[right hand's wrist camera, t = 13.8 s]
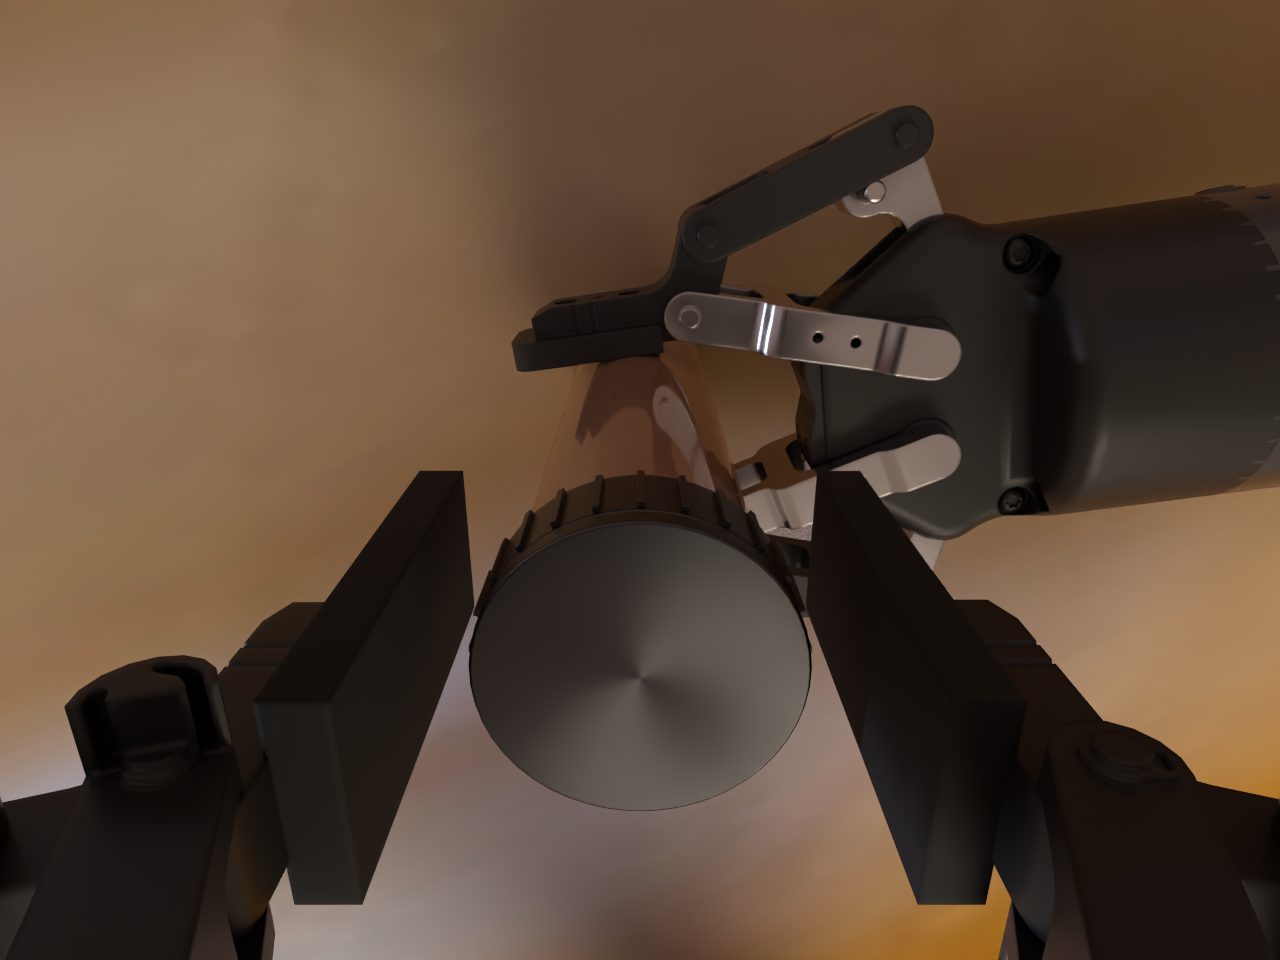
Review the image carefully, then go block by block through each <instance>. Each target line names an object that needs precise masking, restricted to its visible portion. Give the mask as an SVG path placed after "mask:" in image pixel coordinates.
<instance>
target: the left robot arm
mask: <svg viewBox="0 0 1280 960" xmlns="http://www.w3.org/2000/svg"><path fill="white" fill-rule="evenodd" d="M933 135H934V128H933V123H932V120H931V118H930V117H929V115H928V114H927V113H926V112H925V111H924V110H923V109H921V108H919V107H916V106H911V105H909V106H902V107H898V108H894V109H889V110H885V111H881V112H876V113H872V114H869V115H867V116H865V117H863V118H861V119H859V120H857V121H855V122H854V123H852V124H850V125H848V126H846V127H844V128H842V129H840V130H838V131H836V132H834V133H832V134H830V135H828V136H826V137H824V138H822V139H821V140H819V141H817V142H815V143H813V144H811V145H809V146H807V147H805V148H803V149H801V150H799V151H797V152H795V153H793V154H791V155H790V156H788V157H786V158H784V159H782V160H780V161H778V162H776V163H774V164H772V165H770V166H768V167H766V168H764V169H762V170H760V171H758V172H757V173H755V174H753V175H751V176H749V177H747V178H745V179H743V180H741V181H739V182H737V183H735V184H733V185H731V186H729V187H727V188H725V189H724V190H722V191H720V192H718V193H716V194H714V195H712V196H710V197H708V198H706V199H704V200H702V201H700V202H698V203H696V204H694V205H693V206H691V207H689V208H688V209H687V210H685V211H684V213H683V214H682V215H681V217H680V220H679V223H678V233H677V237H676V242H675V246H674V251H673V256H672V260H671V264H670V267H669V269H668V271H667V273H666V274H665V275H664V276H663V278H662V279H660V280H659V281H658V282H656V283H655V284H652V285H650V286H646V287H639V288H632V289H625V290H618V291H611V292H604V293H597V294H590V295H583V296H578V297H569V298H562V299H556V300H554V301H552V302H551V303H549V304H547V305H546V306H544V307H542V308H540V309H539V310H538V311H537V312H536V314H535V315H534V316H533V318H532V319H531V320H532V326H533V328H530V329H526V330H523V331H521V332H519V333H518V334H517V336H516V337H515V338H514V340H513V341H512V348H513V353H514V358H515V363H516V368H517V371H521V372H530V371H538V370H545V369H552V368H559V367H567V366H574V365H581V364H588V363H595V362H603V361H610V360H617V359H622V358H629V357H639V356H646V355H653V354H660V353H664V346H663V342H668V341H676V340H679V341H681V342H686V343H694V344H701V345H709V346H716V347H724V348H732V349H739V350H747V351H753V352H756V353H759V354H761V355H764V356H768V357H772V358H777V359H784V360H791V365H792V367H793V370H794V373H795V376H796V378H797V381H798V384H799V387H800V390H801V394H800V399H799V404H798V409H797V414H796V419H795V421H796V433H794V434H791V435H789V436H786V437H784V438H781V439H779V440H776V441H774V442H771V443H769V444H767V445H765V446H763V447H762V448H760V449H759V450H758V451H757V453H756V454H755V455H754V456H752V457H750V458H748V459H746V460H743V461H741V462H738V463H736V464H734V467H735V470H736V473H737V476H738V479H739V483H740V486H741V489H742V492H743V495H744V498H745V502H746V505H747V508H748V511H750V510H751V511H753V512H754V513H755V514H756V517H757V520H758V523H759V526H760V527H761V528H762V530H763V531H764V532H765V533H767V532H770V531H772V530H775V529H778V528H782V527H786V528H789V529H800V528H804V527H807V526H809V525H812V524H813V514H814V502H815V490H816V478H817V471H861V473H862V474H863V475H864V477H865V478H866V480H867V481H868V482H869V484H870V485H871V486H872V488H873V489H874V491H875V492H876V493H877V495H878V496H879V498H880V499H881V500H882V502H883V503H884V504H885V506H886V507H887V509H888V510H889V511H890V513H891V514H892V515H893V517H894V518H895V520H896V521H897V522H898V524H899V525H900V526H901V528H902V529H903V531H904V532H905V533H906V535H907V536H908V538H909V539H910V540H911V542H912V543H913V544H914V546H915V547H916V549H917V550H918V551H919V553H920V554H921V555H922V557H923V558H924V560H925V561H926V562H927V564H928V565H929V566H930V568H931V569H932V571H933V572H934V569H935V566H936V563H937V560H938V557H939V555H940V552H941V549H942V546H943V543H944V540H950V539H954V538H957V537H960V536H962V535H964V534H965V533H967V532H969V531H970V530H972V529H973V528H975V527H976V526H978V525H980V524H982V523H984V522H986V521H989V520H991V519H994V518H997V517H1001V516H1009V515H1033V516H1045V515H1059V514H1067V513H1075V512H1083V511H1091V510H1098V509H1106V508H1114V507H1122V506H1130V505H1138V504H1146V503H1154V502H1162V501H1169V500H1177V499H1185V498H1193V497H1201V496H1209V495H1216V494H1224V493H1232V492H1240V491H1248V490H1256V489H1264V488H1272V487H1280V183H1279V184H1270V185H1263V186H1256V187H1249V188H1247V187H1246V186H1236V187H1234V186H1233V185H1231V186H1223V187H1217V188H1212V189H1208V190H1204V191H1200V192H1197V193H1195V195H1193V196H1187V197H1180V198H1173V199H1166V200H1159V201H1152V202H1146V203H1138V204H1132V205H1125V206H1118V207H1111V208H1104V209H1097V210H1090V211H1083V212H1076V213H1070V214H1063V215H1056V216H1049V217H1042V218H1035V219H1028V220H1021V221H1014V222H1008V223H1001V224H987V225H983V224H979V223H977V222H974V221H972V220H970V219H968V218H965V217H963V216H960V215H956V214H946V213H944V212H943V209H942V206H941V203H940V200H939V197H938V194H937V191H936V188H935V185H934V182H933V180H932V177H931V174H930V171H929V168H928V165H927V162H926V159H925V156H924V155H925V154H926V153H927V151H928V150H929V148H930V146H931V144H932V140H933ZM834 202H835V204H836V206H837V207H838V209H839V210H841V211H842V212H843V213H845V214H847V215H851V216H856V217H860V218H869V217H872V216H876V215H879V214H885V215H887V216H888V217H889V218H890V219H891V220H892V221H893V222H894V224H895V226H896V227H895V228H894V229H893V230H892V231H891V232H890V233H889V234H888V235H886V236H885V237H884V238H883V239H882V240H881V241H880V242H879V243H878V244H877V245H875V246H874V247H873V248H872V249H871V250H870V251H869V252H868V253H867V254H866V255H864V256H863V257H862V258H861V259H860V260H859V261H858V262H857V263H856V264H855V265H853V266H852V267H851V268H850V269H849V270H848V271H847V272H846V273H845V274H843V275H842V276H841V277H840V278H839V279H838V280H837V281H836V282H835V283H834V284H832V285H831V286H830V287H829V288H828V289H827V290H826V291H825V292H824V293H823V294H814V293H806V292H799V291H792V290H784V289H777V288H769V287H759V286H755V287H745V286H738V285H730V284H723V283H721V282H722V278H723V274H724V270H725V265H726V261H727V257H728V255H730V254H732V253H734V252H736V251H738V250H740V249H742V248H744V247H746V246H748V245H750V244H752V243H754V242H756V241H758V240H760V239H762V238H764V237H766V236H768V235H770V234H772V233H774V232H776V231H778V230H780V229H782V228H784V227H786V226H788V225H790V224H792V223H794V222H796V221H798V220H800V219H802V218H804V217H806V216H808V215H810V214H812V213H814V212H816V211H818V210H820V209H822V208H824V207H826V206H828V205H830V204H832V203H834ZM802 454H803V455H802ZM766 535H767V536H768V537H769V539H770V540H771V541H772V540H774V539H777V541H778V543H779V545H780V547H781V550H782V553H783V556H784V558H785V561H786V564H787V566H788V569H789V571H792V574H793V576H794V579H795V582H796V584H797V587H798V590H799V592H800V595H801V598H802V600H803V603H804V606H805V609H806V596H807V584H808V572H809V560H810V549H811V541H805V540H799V539H793V538H787V537H781V536H775V535H769V534H766ZM806 612H807V609H806ZM807 615H808V616H806V617H809V614H808V612H807Z"/></svg>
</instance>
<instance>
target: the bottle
mask: <svg viewBox="0 0 1280 960" xmlns="http://www.w3.org/2000/svg"><path fill="white" fill-rule="evenodd" d="M663 346H664V353H660V354H653V355H646V356H639V357H629V358H622V359H617V360H610V361H603V362H595V363H588V364H581V365H578V367H577V370H576V373H575V377H574V380H573V383H572V386H571V389H570V392H569V396H568V399H567V402H566V405H565V408H564V411H563V415H562V418H561V421H560V424H559V427H558V431H557V434H556V437H555V440H554V443H553V446H552V450H551V453H550V456H549V459H548V462H547V465H546V469H545V472H544V475H543V478H542V481H541V484H540V488H539V491H538V494H537V497H536V500H535V504H534V507H533V510H532V511H533V512H534V513H535V512H536V511H537V510H538V509H540V508H541V507H542V506H544V505H545V504H547V503H548V502H549V501H551V500H552V499H554V498H556V495H557V491H558V490H560V489H562V488H564V489H565V491H566V492H567V491H569V490H571V489H573V488H576V487H579V486H581V485H584V484H587V483H589V482H593V481H595V476H597V475H601V474H603V477H604V479H605V478H609V477H617V476H626V475H637V470H644V471H645V475H655V476H663V477H670V478H676V479H677V478H678V475H683V476H686V481H687V482H691V483H694V484H697V485H699V486H702V487H704V488H707V489H709V490H712V491H714V492H715V491H716V490H717V488H719V489H721V490H722V491H724V494H725V498H726V499H728V500H730V501H731V502H733V503H734V504H735V505H737V506H738V507H739V508H741V509H742V510H743V511H745V512H746V513H748V512H749V511H748V508H747V505H746V502H745V498H744V495H743V492H742V489H741V486H740V483H739V479H738V476H737V473H736V470H735V467H734V463H733V460H732V457H731V454H730V451H729V448H728V444H727V441H726V438H725V435H724V432H723V428H722V425H721V422H720V419H719V416H718V413H717V409H716V406H715V403H714V400H713V397H712V393H711V390H710V387H709V384H708V381H707V378H706V374H705V371H704V368H703V365H702V362H701V358H700V355H699V352H698V349H697V347H696V344H694V343H686V342H681V341H679V340H676V341H668V342H663Z"/></svg>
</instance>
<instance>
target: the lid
mask: <svg viewBox="0 0 1280 960" xmlns="http://www.w3.org/2000/svg"><path fill="white" fill-rule="evenodd" d="M473 615H474V616H477V617H478V619H477V622H476V625H475V628H474V632H473V636H472V639H471V642H470V644H469V652H470V655H469V675H470V685H471V689H472V694H473V698H474V702H475V705H476V707H477V710H478V712H479V715H480V717H481V720H482V722H483V724H484V726H485V727H486V729H487V731H488V733H489V734H490V736H491V738H492V739H493V740H494V742H495V743H496V744H497V746H498V747H499V748H500V749H501V751H502V752H503V753H504V754H505V755H506V756H507V757H508V758H509V759H510V760H511V761H512V762H513V763H514V764H515V765H516V766H517V767H518V768H519V769H521V770H522V771H523V772H525V773H526V774H527V775H528V776H530V777H531V778H532V779H534V780H535V781H537V782H539V783H540V784H542V785H544V786H545V787H547V788H549V789H551V790H553V791H555V792H557V793H559V794H561V795H564V796H566V797H568V798H571V799H574V800H577V801H580V802H583V803H586V804H590V805H594V806H599V807H604V808H609V809H617V810H626V811H653V810H663V809H672V808H677V807H682V806H687V805H691V804H694V803H697V802H701V801H704V800H707V799H710V798H712V797H714V796H717V795H719V794H721V793H724V792H726V791H728V790H730V789H732V788H733V787H735V786H737V785H739V784H740V783H742V782H744V781H745V780H747V779H748V778H749V777H751V776H752V775H753V774H755V773H756V772H757V771H759V770H760V769H761V768H762V767H764V766H765V765H766V764H767V763H768V762H769V761H770V760H771V759H772V758H773V757H774V756H775V755H776V754H777V752H778V751H779V750H780V749H781V748H782V746H783V745H784V744H785V743H786V741H787V740H788V738H789V737H790V735H791V733H792V732H793V730H794V728H795V727H796V725H797V723H798V721H799V718H800V716H801V714H802V711H803V709H804V707H805V704H806V700H807V696H808V692H809V688H810V680H811V671H812V664H811V652H812V646H811V644H810V641H809V638H808V634H807V629H806V627H805V624H804V621H803V617H806V616H808V615H807V612H806V609H805V606H804V603H803V600H802V598H801V595H800V592H799V590H798V587H797V584H796V582H795V579H794V576H793V574H792V571H789V569H788V566H787V564H786V561H785V558H784V556H783V553H782V550H781V547H780V545H779V543H778V541H777V539H774V540H772V541H771V540H770V539H769V537H768V536H767V535H766V533H765V532H764V531H763V530H762V528H761V527H760V526H759V523H758V520H757V517H756V514H755V513H754V512H753V511H751V510H750V511H749V512H748V513H746V512H745V511H743V510H742V509H741V508H739V507H738V506H737V505H735V504H734V503H733V502H731V501H730V500H728V499H726V498H725V494H724V491H722V490H721V489H719V488H717V490H716V491H715V492H714V491H712V490H709V489H707V488H704V487H702V486H699V485H697V484H694V483H691V482H687V481H686V476H683V475H678V478H677V479H676V478H670V477H663V476H655V475H645V471H644V470H637V475H626V476H617V477H609V478H605V479H604V477H603V474H601V475H597V476H595V481H593V482H589V483H587V484H584V485H581V486H579V487H576V488H573V489H571V490H569V491H567V492H566V491H565V489H564V488H562V489H560V490H558V491H557V495H556V498H554V499H552V500H551V501H549V502H548V503H547V504H545V505H544V506H542V507H541V508H540V509H538V510H537V511H536V512H535V513H534V512H533V511H532V510H529V511H528V512H527V513H526V514H525V517H524V520H523V523H522V525H521V527H520V528H519V529H518V530H517V532H516V533H515V534H514V535H513V537H512V538H511V539H510V540H508V539H507V538H505V539H504V540H503V542H502V544H501V547H500V549H499V552H498V555H497V557H496V560H495V563H494V566H493V568H492V571H491V570H489V572H488V575H487V578H486V580H485V583H484V586H483V588H482V591H481V594H480V596H479V599H478V602H477V604H476V607H475V610H474V613H473Z"/></svg>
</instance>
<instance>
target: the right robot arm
mask: <svg viewBox="0 0 1280 960" xmlns="http://www.w3.org/2000/svg"><path fill="white" fill-rule="evenodd" d="M473 609H474V596H473V584H472V572H471V561H470V549H469V537H468V525H467V514H466V502H465V490H464V478H463V471H419V473H418V474H417V475H416V477H415V478H414V480H413V481H412V482H411V484H410V485H409V486H408V488H407V489H406V491H405V492H404V493H403V495H402V496H401V497H400V499H399V500H398V502H397V503H396V504H395V506H394V507H393V509H392V510H391V511H390V513H389V514H388V515H387V517H386V518H385V520H384V521H383V522H382V524H381V525H380V526H379V528H378V529H377V531H376V532H375V533H374V535H373V536H372V537H371V539H370V540H369V542H368V543H367V544H366V546H365V547H364V549H363V550H362V551H361V553H360V554H359V555H358V557H357V558H356V560H355V561H354V562H353V564H352V565H351V566H350V568H349V569H348V571H347V572H346V573H345V575H344V576H343V577H342V579H341V580H340V582H339V583H338V584H337V586H336V587H335V589H334V590H333V591H332V593H331V594H330V595H329V597H328V598H327V600H326V601H325V602H293V603H291V604H289V605H288V606H286V607H285V608H283V609H281V610H280V611H278V612H277V613H275V614H274V615H272V616H270V617H269V618H267V619H266V620H264V621H263V622H262V623H261V624H260V625H259V626H258V628H257V629H256V630H255V631H254V632H253V634H252V635H251V636H250V637H249V638H248V640H247V641H246V642H245V643H244V648H240V649H239V650H238V652H237V653H236V654H235V655H234V656H233V658H232V659H231V660H230V661H229V666H228V667H224V668H223V670H222V671H221V672H220V673H219V674H217V669H216V667H214V666H213V665H212V664H210V663H209V662H208V661H206V660H205V659H202V658H196V657H191V656H185V655H180V656H164V657H155V658H151V659H147V660H143V661H139V662H135V663H131V664H128V665H125V666H123V667H121V668H118V669H116V670H113V671H111V672H109V673H106V674H104V675H101V676H100V677H98V678H97V679H95V680H94V681H92V682H91V683H89V684H88V685H86V686H85V687H83V688H82V689H80V690H79V691H78V692H77V693H76V694H75V695H74V696H73V697H72V699H71V700H70V701H69V702H68V703H67V704H66V705H65V710H66V714H67V717H68V720H69V723H70V726H71V730H72V733H73V736H74V739H75V742H76V746H77V749H78V752H79V755H80V758H81V762H82V765H83V768H84V771H85V774H86V778H85V780H84V782H83V784H82V785H80V786H76V787H73V788H69V789H64V790H60V791H55V792H50V793H45V794H41V795H36V796H31V797H27V798H22V799H17V800H12V801H8V802H3V803H2V801H1V798H0V960H272V958H273V949H274V939H275V931H274V924H273V918H272V913H271V909H270V904H269V901H270V899H271V897H272V895H273V893H274V891H275V889H276V887H277V885H278V883H279V881H280V879H281V877H282V875H283V873H284V871H285V869H286V867H287V871H288V876H289V881H290V885H291V890H292V895H293V900H294V904H295V905H362V904H363V901H364V898H365V896H366V893H367V890H368V888H369V885H370V882H371V880H372V877H373V874H374V872H375V869H376V866H377V864H378V861H379V858H380V856H381V853H382V851H383V848H384V845H385V843H386V840H387V837H388V835H389V832H390V829H391V827H392V824H393V821H394V819H395V816H396V813H397V811H398V808H399V805H400V803H401V800H402V797H403V795H404V792H405V789H406V787H407V784H408V782H409V779H410V776H411V774H412V771H413V768H414V766H415V763H416V760H417V758H418V755H419V752H420V750H421V747H422V744H423V742H424V739H425V736H426V734H427V731H428V728H429V726H430V723H431V720H432V718H433V715H434V713H435V710H436V707H437V705H438V702H439V699H440V697H441V694H442V691H443V689H444V686H445V683H446V681H447V678H448V675H449V673H450V670H451V667H452V665H453V662H454V659H455V657H456V654H457V651H458V649H459V646H460V643H461V641H462V638H463V636H464V633H465V630H466V628H467V625H468V622H469V620H470V617H471V614H472V612H473ZM806 609H807V612H808V614H809V617H810V620H811V622H812V625H813V628H814V630H815V633H816V636H817V638H818V641H819V644H820V646H821V649H822V651H823V654H824V657H825V659H826V662H827V665H828V667H829V670H830V673H831V675H832V678H833V681H834V683H835V686H836V689H837V691H838V694H839V697H840V699H841V702H842V705H843V707H844V710H845V713H846V715H847V718H848V720H849V723H850V726H851V728H852V731H853V734H854V736H855V739H856V742H857V744H858V747H859V750H860V752H861V755H862V758H863V760H864V763H865V766H866V768H867V771H868V774H869V776H870V779H871V782H872V784H873V787H874V789H875V792H876V795H877V797H878V800H879V803H880V805H881V808H882V811H883V813H884V816H885V819H886V821H887V824H888V827H889V829H890V832H891V835H892V837H893V840H894V843H895V845H896V848H897V851H898V853H899V856H900V858H901V861H902V864H903V866H904V869H905V872H906V874H907V877H908V880H909V882H910V885H911V888H912V890H913V893H914V896H915V898H916V901H917V904H918V905H985V904H986V900H987V895H988V890H989V885H990V880H991V876H992V871H993V866H994V865H995V867H996V869H997V871H998V873H999V875H1000V877H1001V879H1002V881H1003V883H1004V885H1005V887H1006V889H1007V891H1008V893H1009V895H1010V897H1011V899H1012V900H1011V904H1010V909H1009V913H1008V918H1007V922H1006V927H1005V931H1004V935H1003V940H1002V944H1001V949H1000V953H999V958H998V960H1280V798H1279V799H1275V798H1270V797H1266V796H1261V795H1256V794H1251V793H1247V792H1242V791H1237V790H1232V789H1228V788H1223V787H1218V786H1213V785H1209V784H1206V783H1202V782H1198V781H1197V780H1196V778H1195V776H1194V774H1193V773H1192V772H1191V770H1190V769H1189V768H1188V766H1187V765H1186V764H1185V762H1184V761H1183V760H1182V758H1181V757H1180V756H1178V755H1177V754H1176V753H1174V752H1173V751H1172V750H1170V749H1169V748H1168V747H1166V746H1165V745H1164V744H1162V743H1161V742H1160V741H1158V740H1156V739H1154V738H1152V737H1149V736H1147V735H1145V734H1143V733H1141V732H1139V731H1137V730H1135V729H1133V728H1129V727H1125V726H1122V725H1118V724H1115V723H1111V722H1107V721H1103V720H1102V719H1101V717H1100V716H1099V715H1098V714H1097V713H1096V712H1095V710H1094V709H1093V708H1092V707H1091V706H1090V704H1089V703H1088V702H1087V701H1086V700H1085V698H1084V697H1083V696H1082V695H1081V694H1080V692H1079V691H1078V690H1077V689H1076V688H1075V686H1074V685H1073V684H1072V683H1071V682H1070V680H1069V679H1068V678H1067V677H1066V676H1065V674H1064V673H1063V672H1062V671H1061V670H1060V668H1059V667H1058V666H1057V665H1056V664H1052V659H1051V658H1050V657H1049V655H1048V654H1047V653H1046V652H1045V651H1044V649H1043V648H1042V647H1041V646H1040V645H1037V644H1036V640H1035V639H1034V637H1033V636H1032V635H1031V634H1030V633H1029V631H1028V630H1027V629H1026V628H1025V627H1024V625H1023V624H1022V623H1021V622H1020V621H1019V619H1018V618H1016V617H1014V616H1013V615H1011V614H1010V613H1008V612H1006V611H1005V610H1003V609H1001V608H1000V607H998V606H997V605H995V604H993V603H992V602H990V601H989V600H953V598H952V597H951V595H950V594H949V593H948V591H947V590H946V589H945V587H944V586H943V584H942V583H941V582H940V580H939V579H938V578H937V576H936V575H935V573H934V572H933V571H932V569H931V568H930V566H929V565H928V564H927V562H926V561H925V560H924V558H923V557H922V555H921V554H920V553H919V551H918V550H917V549H916V547H915V546H914V544H913V543H912V542H911V540H910V539H909V538H908V536H907V535H906V533H905V532H904V531H903V529H902V528H901V526H900V525H899V524H898V522H897V521H896V520H895V518H894V517H893V515H892V514H891V513H890V511H889V510H888V509H887V507H886V506H885V504H884V503H883V502H882V500H881V499H880V498H879V496H878V495H877V493H876V492H875V491H874V489H873V488H872V486H871V485H870V484H869V482H868V481H867V480H866V478H865V477H864V475H863V474H862V473H861V471H817V478H816V490H815V502H814V514H813V525H812V537H811V549H810V560H809V572H808V584H807V596H806Z"/></svg>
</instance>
